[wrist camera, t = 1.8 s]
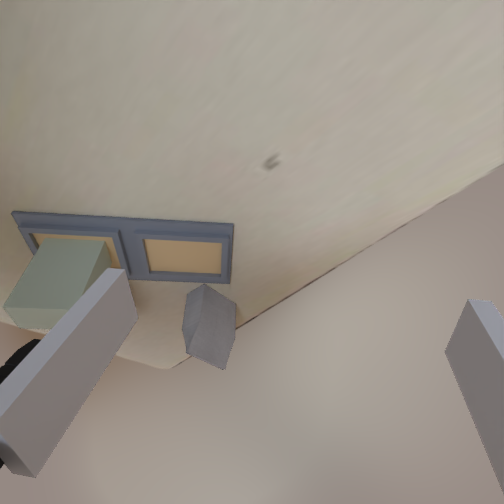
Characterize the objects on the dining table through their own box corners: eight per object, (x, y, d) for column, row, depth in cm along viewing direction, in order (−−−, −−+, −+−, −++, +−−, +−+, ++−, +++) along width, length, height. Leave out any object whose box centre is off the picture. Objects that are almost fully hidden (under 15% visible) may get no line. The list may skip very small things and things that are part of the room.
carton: (56, 260, 42) (19, 328, 35) (45, 237, 39) (2, 307, 32) (112, 262, 43) (86, 330, 36) (104, 240, 40) (75, 309, 33)
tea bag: (204, 283, 47) (197, 347, 40) (236, 303, 51) (234, 365, 44) (187, 293, 49) (177, 357, 42) (219, 312, 53) (215, 373, 46)
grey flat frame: (47, 273, 45) (44, 279, 44) (12, 211, 37) (7, 217, 36) (229, 281, 47) (229, 287, 46) (233, 223, 39) (232, 230, 38)
